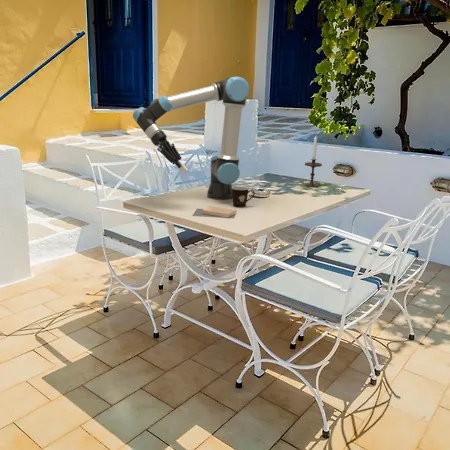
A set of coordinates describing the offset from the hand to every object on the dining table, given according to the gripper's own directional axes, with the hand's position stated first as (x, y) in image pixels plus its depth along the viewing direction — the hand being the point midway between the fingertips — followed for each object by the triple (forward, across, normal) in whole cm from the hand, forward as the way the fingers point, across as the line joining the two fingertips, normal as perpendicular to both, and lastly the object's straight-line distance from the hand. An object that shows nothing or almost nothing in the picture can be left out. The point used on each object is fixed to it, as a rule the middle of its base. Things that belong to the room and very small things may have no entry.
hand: (185, 171), depth 228 cm
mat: (+25, 0, -2) cm, 25 cm away
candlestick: (+41, -98, +12) cm, 106 cm away
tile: (+21, 0, -4) cm, 21 cm away
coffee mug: (+29, -20, +2) cm, 36 cm away
